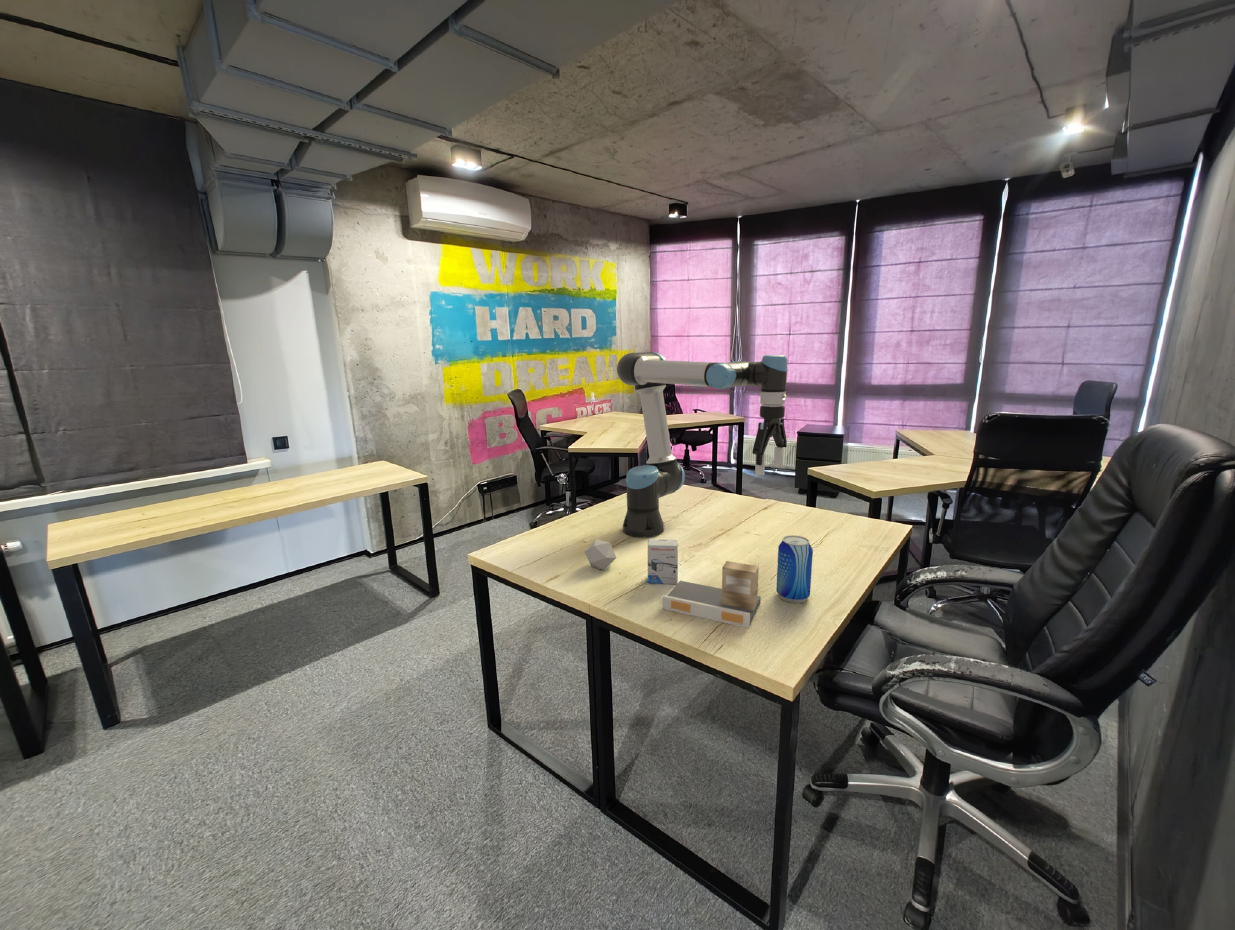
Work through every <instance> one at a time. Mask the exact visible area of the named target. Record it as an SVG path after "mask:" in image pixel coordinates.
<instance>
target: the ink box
mask: <svg viewBox="0 0 1235 930" xmlns="http://www.w3.org/2000/svg"><path fill="white" fill-rule="evenodd" d="M678 547H679V546H678V540H677V539H674V538H671V539H670V538H649V539H647V584H654V585H655V584H658V585H659V584H660V585H677V584H678V582H679V580H678V579H679V571H678V569H679V565H678V564H679V562H678V561H679V554H678V553H679V551H678Z"/></svg>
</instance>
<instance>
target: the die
mask: <svg viewBox="0 0 1235 930" xmlns="http://www.w3.org/2000/svg"><path fill="white" fill-rule="evenodd" d="M584 553H585V555H586V558H587V561H588V562H589V565H590V567H592V566H593V567H592V568H595V567H596V568H595V569H598V568H599V570H601V569H602V571H606V570H607V568H608V567H610V565H611V564H612V563H613V562H614V561H615V560H616V559H617V557H616V556H617V555H616V553H615V551H614V549H613V547H612V544H611V542H608V541H605V540H601V539H597V538H596V539H595V540H594V541H593V542H592V543H591V544H590V545H589V546H588V547H587V548H586V549H585V551H584Z"/></svg>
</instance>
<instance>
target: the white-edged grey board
mask: <svg viewBox="0 0 1235 930" xmlns="http://www.w3.org/2000/svg"><path fill="white" fill-rule="evenodd" d="M661 597H662V598H661V599H662V600H661V601H662V603H661V604H662V609H663V610H667V611H669V612H670V611H671V612H674V613H675V612H676V613H680V614H685V615H689V616H693V617H697V618H703V619H707V620H711V621H716V622H720V623H724V624H728V625H733V626H738V627H742V628H746V629H750V627H751V624H752V623H753V620H754V618H755V616H756V614H757V611H758V609H759V607H760V606H761V599H762V597H761V595H758V598H757V605H756V607H755V609H754V611H753V610H748V609H744V608H739V607H734V606H729V605H724V604H722V587H721V588H720V587H716V586H709V585H705V584H699V583H694V582H689V581H684V580H678V583H677V584H675V586H674V587H673V588H672V590H671V591H670V592H669V593H668V594H667V595H666V594H663V595H662V596H661Z"/></svg>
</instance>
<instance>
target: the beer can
mask: <svg viewBox="0 0 1235 930" xmlns="http://www.w3.org/2000/svg"><path fill="white" fill-rule="evenodd" d="M810 541H811V540H809V538H807V537H804V536H801V535H794V534H793V535H786V536H783V537H782V540H781V541H780V543H779V544H778V546H777V547H778V548H777V549H778V552H777V567H776V569H777V571H776V588H775V589H776V591H775V592H776V593H777V595H778V596H779V598H780V599H781V600H782V601H785V602H788V603H792V604H801V603H804V602H806V601H807V600H808V598H809V597H811V596H810V595H811V585H812V571H813V570H812V569H813V568H812V567H813V552H814V549H813V547H812V546H811V544H810Z"/></svg>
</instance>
